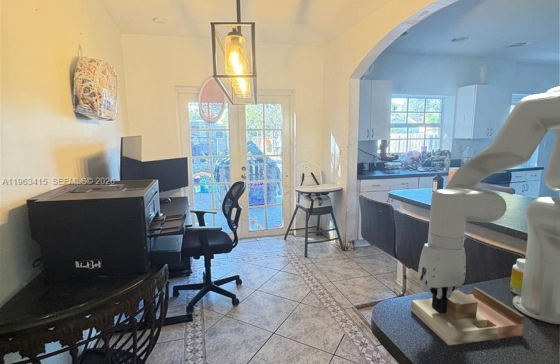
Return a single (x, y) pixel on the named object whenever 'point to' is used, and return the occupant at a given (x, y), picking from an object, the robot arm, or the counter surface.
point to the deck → (472, 320)
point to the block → (461, 306)
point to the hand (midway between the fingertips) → (438, 310)
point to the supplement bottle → (517, 276)
